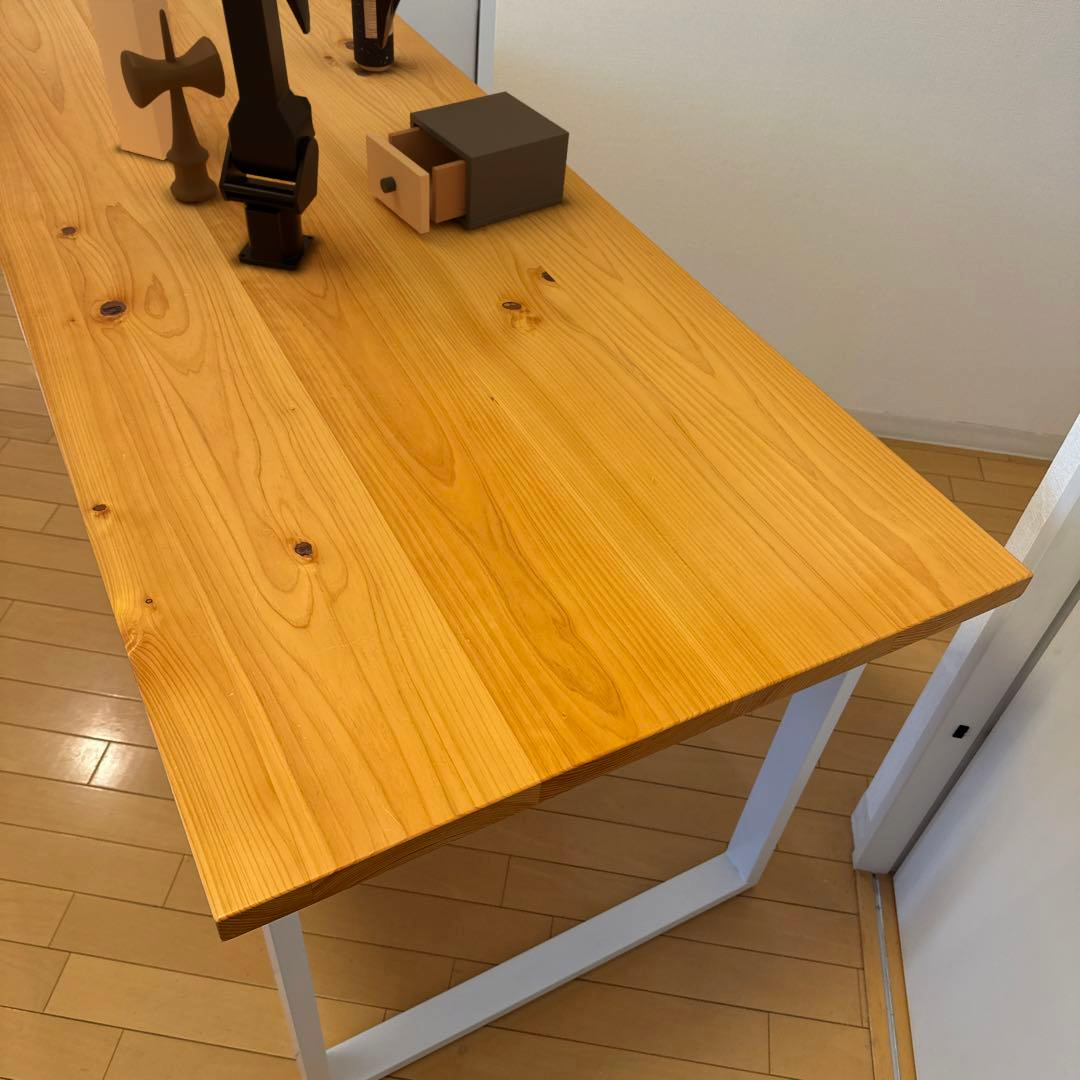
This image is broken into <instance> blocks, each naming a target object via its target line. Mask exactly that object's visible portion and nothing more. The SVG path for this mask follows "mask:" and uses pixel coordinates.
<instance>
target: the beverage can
mask: <svg viewBox="0 0 1080 1080" xmlns="http://www.w3.org/2000/svg"><path fill="white" fill-rule="evenodd" d="M350 5H351V8H350V9H351V26H352V43H353V44H352V45H353V60H354V61H355V63H357V64H358V65H359V67H360V68H361V69H362V70H364V71H368V72H383V71H386V70H388V69H389V68H390V66H391V65H392V64H393V63H394V61H395V42H394V40H395V39H394V38H395V37H394V36H395V35H394V21H393V22H392V25H391V29H390V32H389V35H388V39H387V42H386V45H385V47H384V48H383V49H381V48H379V45H378V39H377V25H376V0H350Z"/></svg>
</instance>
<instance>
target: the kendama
mask: <svg viewBox="0 0 1080 1080" xmlns="http://www.w3.org/2000/svg"><path fill="white" fill-rule="evenodd" d="M159 17H160V25H161V32H162V39H163V46H164V53H165V59H163V60H156V59H151V58H147V57H144V56H142V55H139V54H137V53H134V52H132V51H128V50H124V51H122V53H121V55H120V63H121V69H122V74H123V78H124V82H125V85H126V88H127V90H128V93H129V95H130V97H131V99H132V101H133V102H134V104H135V105H136V106H137V107H139V108H140V109H143V108H145V107H146V106H148V105H149V104H150V103H151V102H152V101H153V100H155V99H156V98H157V97H158V96H159V95H161V94H162V93H163V92H165V91H168V90H170V99H171V112H172V147H171V149H170V150H169V151H168V152H167V154H166V157H167V158H166V160H167V161H168V162H169V163H170V164H171V165H172V166H173V170H174V180H173V181H172V182H171V184H170V187H169V190H170V193H171V195H172V196H173V197H174V198H175V199H177V200H180V201H183V202H189V203H190V202H191V203H194V202H203V201H206V200H209V199H210V198H212V197H213V196H216V195H217V192H218V186H217V184H216V182H215V180H213V178H211V177H210V176H209V173H208V167H207V162H208V160H209V157H210V153H209V151H208V149H206V148H205V147H204V146H202V145H201V143H200V142H199V140H198V137H197V134H196V131H195V128H194V125H193V121H192V119H191V116H190V112H189V109H188V105H187V102H186V98H185V94H184V90H182V89H183V88H193V89H197V90H199V91H202V92H204V93H206V94H208V95H210V96H212V97H214V98H217V99H222V98H224V96H225V93H226V88H227V87H226V86H227V85H226V75H225V70H224V65H223V61H222V59H221V56H220V53H219V51H218V49H217V47H216V45H215V43H214V42H213V41H212V40H211V38H210V37H208V36H205V35H202V36H201V37H199V39H197V41H196V42H194V44H192V46H191V47H190V48H189V49H188V50H187V51H186V52H185V53H184V54H182V55H180V56H177V57H176V58H175V54H174V49H173V45H172V40H171V35H170V30H169V26H168V22H167V18H166V14H165V11H164V10H163V9H160V11H159Z"/></svg>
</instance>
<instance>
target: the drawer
mask: <svg viewBox="0 0 1080 1080" xmlns="http://www.w3.org/2000/svg"><path fill="white" fill-rule="evenodd" d="M387 136H388V138H387V139H388V140H386V139H385V138H383V137H382V136H381V135H379V134H378V133H377V132H376V131H372V132H368V133H365V147H366V165H367V166H366V168H367V170H366V171H367V189H368V192H370V193H371V195H373V196H374V197H376V199H378V200H379V201H380V202H382V204H384V205H385V206H386V207H387V208H389V209H390V210H391V211H392V212H393V213H395V214H396V216H398V217H400V218H401V219H402V220H403V221H404V222H405V223H407V224H408V225H409V226H410V227H411V228H413V229H414V230H415V231H416V232H417V233H419V234H420V235H421V234H425V233H428V232H430V220H432V221H433V222H434V223H435V224H438V223H441V222H444V221H445V222H446V221H449V220H452V219H455V218H456V217H459V216H463V215H466V198H467V164H468V162H467V161H466V160H464V159H463V158H462V157H460V156H459V155H457V154H456V153H455V152H453V151H452V150H451V149H449V148H448V147H447V146H445V145H444V144H442V143H441V142H440V141H438V140H437V139H436V138H434V137H433V136H432V135H430V134H429V133H428V132H426V131H425V130H423V129H422V128H421V127H419V126H418V127H414V128H410V127H409V128H406V129H402V130H398V131H394V132H388V135H387Z"/></svg>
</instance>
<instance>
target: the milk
mask: <svg viewBox="0 0 1080 1080" xmlns="http://www.w3.org/2000/svg"><path fill="white" fill-rule="evenodd" d="M87 3H88V8H89V13H90V16H91V21H92V25H93V26H92V27H93V30H94V34H95V39H96V44H97V48H98V52H99V56H100V60H101V66H102V70H103V74H104V77H105V79H104V80H105V83H106V87H107V92H108V96H109V101H110V106H111V110H112V114H113V118H114V122H115V127H116V132H117V137H118V141H119V145H120V149H121V150H122V151H127V152H131V153H133V154H138V155H140V156H141V155H142V156H145V157H150V158H153V159H158V160H160V161H165V160H167V157H166V154H167V152H168V151H169V150H170V149H171V147H172V112H171V99H170V90H168V91H165V92H163V93H162V94H161V95H159V96H158V97H157V98H156V99H155V100H153V101H152V102H151V103H150V104H149V105H148V106H146V107H145V108H143V109H140V108H139V107H137V106H136V105H135V104H134V102H133V101H132V99H131V97H130V95H129V93H128V90H127V88H126V85H125V82H124V78H123V74H122V69H121V63H120V55H121V53H122V51H124V50H128V51H132V52H134V53H137V54H139V55H142V56H144V57H147V58H151V59H156V60H163V59H165V53H164V46H163V39H162V32H161V25H160V17H159V11H160V9H163V10H164V11H165V14H166V18H167V22H168V26H169V30H170V35H171V40H172V45H173V49H174V54H175V58H176V57H178V55H177V49H176V46H175V44H176V43H175V38H174V33H173V27H172V21H171V15H170V9H169V4H168V0H87ZM182 90H183V88H182ZM183 91H184V90H183Z"/></svg>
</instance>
